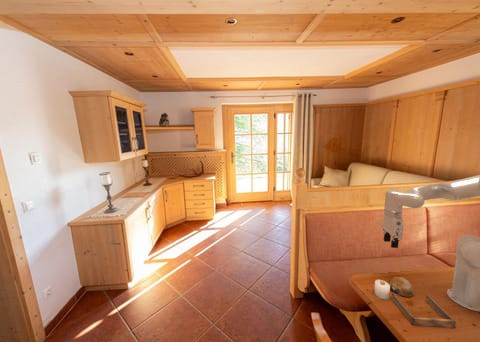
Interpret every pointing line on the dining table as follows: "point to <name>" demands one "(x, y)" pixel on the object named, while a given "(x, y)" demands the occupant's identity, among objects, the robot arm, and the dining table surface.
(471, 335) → the dining table surface
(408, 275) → the dining table surface
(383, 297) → the pot
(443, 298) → the dining table surface
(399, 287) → the bread roll
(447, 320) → the open rail frame
